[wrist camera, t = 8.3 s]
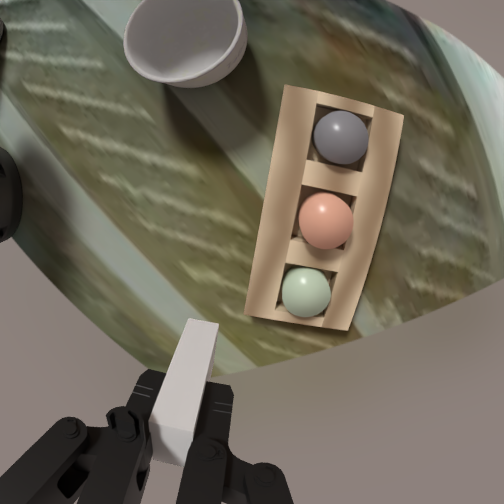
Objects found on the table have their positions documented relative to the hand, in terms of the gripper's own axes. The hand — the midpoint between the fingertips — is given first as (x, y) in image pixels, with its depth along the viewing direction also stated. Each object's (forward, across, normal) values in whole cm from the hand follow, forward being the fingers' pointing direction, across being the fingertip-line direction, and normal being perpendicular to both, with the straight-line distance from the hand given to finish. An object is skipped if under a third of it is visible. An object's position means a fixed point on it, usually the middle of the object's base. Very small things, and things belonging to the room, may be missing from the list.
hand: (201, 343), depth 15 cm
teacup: (+21, -8, +21) cm, 30 cm away
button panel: (+20, +8, +4) cm, 22 cm away
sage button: (+19, +8, -4) cm, 21 cm away
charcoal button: (+19, +8, +12) cm, 24 cm away
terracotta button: (+18, +8, +4) cm, 20 cm away
